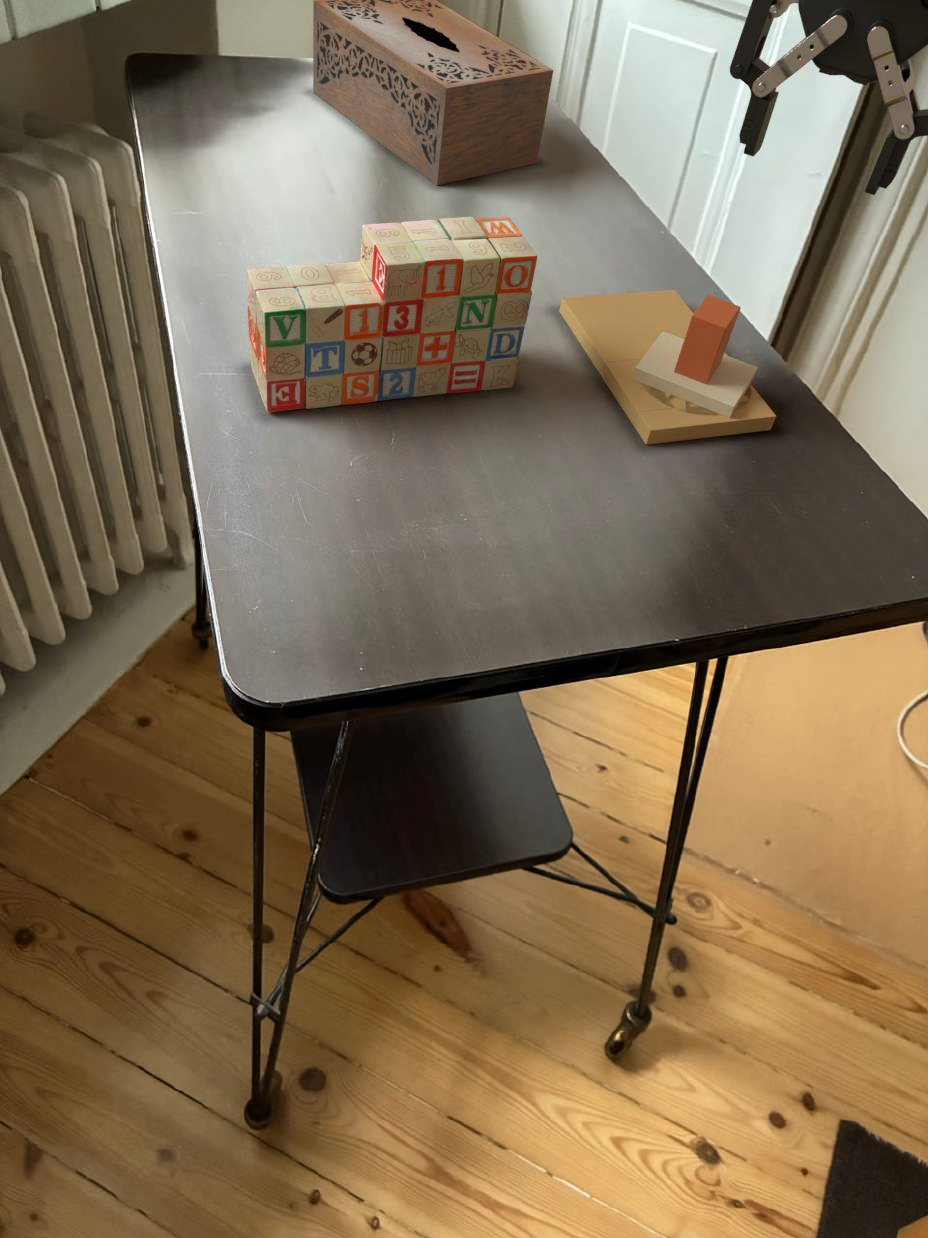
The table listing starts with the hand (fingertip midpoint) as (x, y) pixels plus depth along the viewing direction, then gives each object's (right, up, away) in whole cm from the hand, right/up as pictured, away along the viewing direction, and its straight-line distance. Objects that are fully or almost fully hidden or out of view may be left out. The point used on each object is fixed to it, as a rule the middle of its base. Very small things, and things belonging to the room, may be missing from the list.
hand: (811, 170), depth 67 cm
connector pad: (-4, -11, +20) cm, 23 cm away
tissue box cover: (-29, +28, +50) cm, 64 cm away
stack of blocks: (-30, -11, +16) cm, 36 cm away
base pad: (-6, -8, +22) cm, 24 cm away
